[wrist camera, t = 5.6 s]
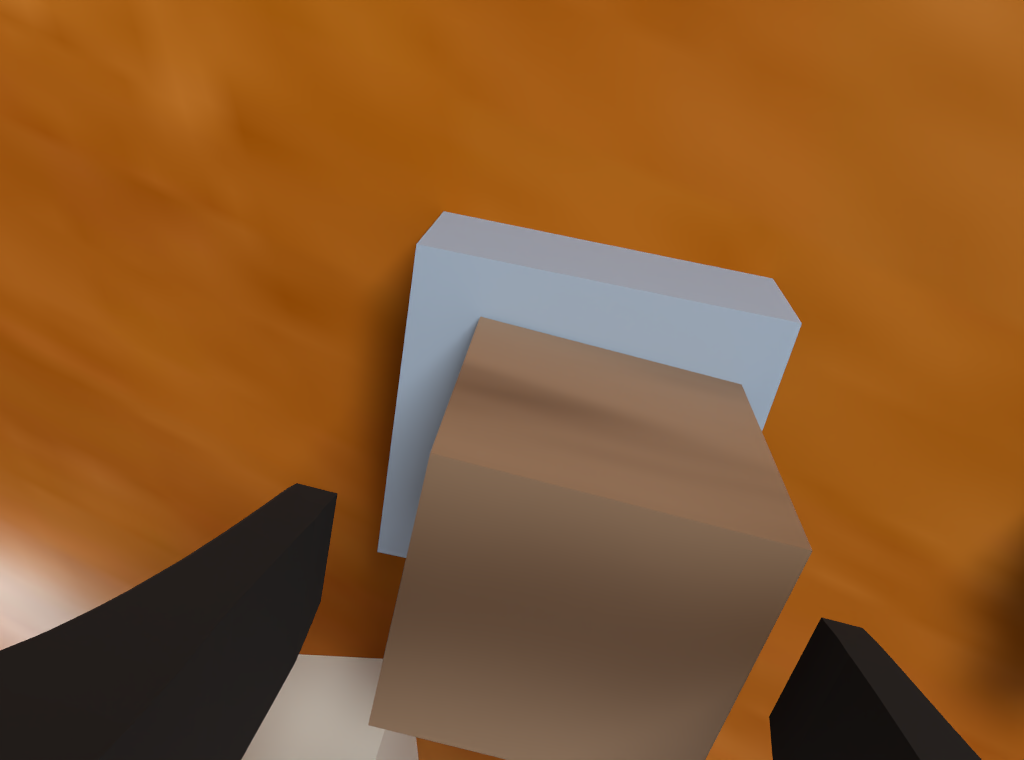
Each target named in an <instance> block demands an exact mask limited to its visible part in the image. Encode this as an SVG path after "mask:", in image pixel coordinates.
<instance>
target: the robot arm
mask: <svg viewBox="0 0 1024 760" xmlns="http://www.w3.org/2000/svg"><path fill="white" fill-rule="evenodd" d="M336 499H337V493H333V492H329V491H325V490H321V489H317V488H313V487H309V486H305V485H302V484H298V483H296V484H294V485H293V486H291V487H289V488H287V489H286V490H284V491H283V492H282V493H280V494H279V495H277V496H276V497H275V498H273V499H272V500H270V501H269V502H267V503H266V504H265V505H263V506H262V507H260V508H259V509H258V510H256V511H255V512H253V513H252V514H250V515H249V516H248V517H246V518H245V519H243V520H242V521H240V522H239V523H237V524H236V525H234V526H233V527H231V528H230V529H229V530H227V531H225V532H224V533H222V534H221V535H219V536H218V537H216V538H215V539H213V540H212V541H210V542H208V543H207V544H205V545H204V546H202V547H201V548H199V549H198V550H196V551H195V552H193V553H191V554H190V555H188V556H187V557H185V558H183V559H182V560H180V561H179V562H177V563H175V564H174V565H172V566H170V567H168V568H167V569H165V570H163V571H161V572H160V573H158V574H156V575H155V576H153V577H151V578H149V579H148V580H146V581H144V582H142V583H141V584H139V585H137V586H135V587H134V588H132V589H130V590H129V591H127V592H125V593H123V594H121V595H119V596H117V597H116V598H114V599H112V600H110V601H108V602H106V603H104V604H102V605H100V606H98V607H96V608H94V609H92V610H90V611H88V612H86V613H85V614H82V615H80V616H78V617H76V618H74V619H72V620H70V621H68V622H66V623H64V624H62V625H59V626H57V627H55V628H53V629H51V630H49V631H47V632H44V633H42V634H40V635H38V636H35V637H33V638H30V639H28V640H25V641H23V642H20V643H18V644H15V645H13V646H10V647H8V648H5V649H3V650H1V651H0V760H241V759H242V758H243V756H244V754H245V752H246V750H247V749H248V747H249V745H250V743H251V741H252V740H253V738H254V736H255V734H256V733H257V731H258V729H259V727H260V725H261V724H262V722H263V720H264V718H265V717H266V715H267V713H268V711H269V709H270V708H271V706H272V704H273V702H274V700H275V699H276V697H277V695H278V693H279V691H280V690H281V688H282V686H283V684H284V682H285V681H286V679H287V677H288V675H289V673H290V671H291V670H292V668H293V666H294V664H295V662H296V659H297V657H298V655H299V652H300V650H301V648H302V645H303V643H304V641H305V638H306V636H307V633H308V631H309V629H310V626H311V624H312V621H313V619H314V616H315V614H316V611H317V609H318V606H319V604H320V602H321V595H322V589H323V583H324V576H325V570H326V563H327V557H328V550H329V544H330V538H331V531H332V525H333V518H334V512H335V505H336ZM769 718H770V730H771V743H772V755H773V760H981V758H980V757H979V756H978V755H977V754H976V753H975V752H974V751H973V750H972V749H971V747H970V746H969V745H968V744H967V743H966V742H965V741H964V740H963V739H962V737H961V736H960V735H959V734H958V733H957V732H956V731H955V730H954V729H953V727H952V726H951V725H950V724H949V723H948V722H947V721H946V720H945V718H944V717H943V716H942V715H941V714H940V713H939V712H938V710H937V709H936V708H935V707H934V706H933V705H932V704H931V703H930V701H929V700H928V699H927V698H926V697H925V696H924V695H923V693H922V692H921V691H920V690H919V689H918V688H917V687H916V685H915V684H914V683H913V682H912V681H911V680H910V679H909V677H908V676H907V675H906V674H905V673H904V672H903V671H902V670H901V668H900V667H899V666H898V665H897V664H896V663H895V662H894V661H893V659H892V658H891V657H890V656H889V655H888V654H887V653H886V652H885V651H884V650H883V648H882V647H881V646H880V645H879V644H878V643H877V642H876V641H875V640H874V639H873V638H872V637H871V636H870V635H869V634H868V633H867V632H866V631H865V630H864V629H863V628H860V627H856V626H852V625H849V624H845V623H841V622H837V621H833V620H829V619H825V618H821V619H820V621H819V623H818V625H817V627H816V629H815V631H814V633H813V634H812V636H811V638H810V640H809V642H808V644H807V646H806V648H805V650H804V652H803V654H802V655H801V657H800V659H799V661H798V663H797V665H796V667H795V669H794V671H793V673H792V674H791V676H790V678H789V680H788V682H787V684H786V686H785V688H784V690H783V692H782V693H781V695H780V697H779V699H778V701H777V703H776V705H775V707H774V709H773V711H772V712H771V714H770V716H769Z"/></svg>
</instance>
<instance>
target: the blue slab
mask: <svg viewBox="0 0 1024 760" xmlns="http://www.w3.org/2000/svg"><path fill="white" fill-rule="evenodd" d="M480 317H484V318H488V319H492V320H496V321H500V322H503V323H507V324H511V325H515V326H519V327H523V328H527V329H530V330H534V331H538V332H542V333H546V334H550V335H553V336H557V337H561V338H565V339H569V340H573V341H577V342H580V343H584V344H588V345H592V346H596V347H600V348H603V349H607V350H611V351H615V352H619V353H623V354H627V355H630V356H634V357H638V358H642V359H646V360H650V361H653V362H657V363H661V364H665V365H669V366H673V367H676V368H680V369H684V370H688V371H692V372H696V373H700V374H703V375H707V376H711V377H715V378H719V379H723V380H726V381H730V382H734V383H738V384H742V387H743V389H744V391H745V394H746V396H747V398H748V401H749V403H750V405H751V408H752V410H753V412H754V415H755V417H756V419H757V422H758V424H759V427H760V429H761V431H762V430H763V427H764V424H765V422H766V419H767V416H768V414H769V411H770V408H771V405H772V403H773V400H774V397H775V395H776V392H777V389H778V386H779V384H780V381H781V378H782V376H783V373H784V370H785V368H786V365H787V362H788V359H789V357H790V354H791V351H792V349H793V346H794V343H795V340H796V338H797V335H798V332H799V330H800V327H801V324H802V323H801V321H800V320H799V318H798V317H797V315H796V314H795V312H794V311H793V309H792V308H791V306H790V304H789V303H788V301H787V300H786V298H785V297H784V295H783V294H782V292H781V291H780V289H779V288H778V286H777V284H776V283H775V281H774V280H773V279H772V278H767V277H762V276H757V275H752V274H747V273H743V272H738V271H733V270H728V269H723V268H718V267H713V266H708V265H703V264H699V263H694V262H689V261H684V260H679V259H674V258H669V257H664V256H659V255H655V254H650V253H645V252H640V251H635V250H630V249H625V248H620V247H615V246H611V245H606V244H601V243H596V242H591V241H586V240H581V239H576V238H571V237H567V236H562V235H557V234H552V233H547V232H542V231H537V230H532V229H527V228H523V227H518V226H513V225H508V224H503V223H498V222H493V221H488V220H484V219H479V218H474V217H469V216H464V215H459V214H454V213H449V212H443V213H442V214H441V215H440V217H439V218H438V219H437V220H436V221H435V223H434V224H433V225H432V226H431V227H430V229H429V230H428V231H427V232H426V233H425V235H424V236H423V237H422V238H421V239H420V241H419V242H418V243H417V245H416V252H415V260H414V268H413V276H412V284H411V292H410V300H409V307H408V315H407V323H406V331H405V339H404V347H403V355H402V362H401V370H400V378H399V386H398V394H397V402H396V410H395V418H394V425H393V433H392V441H391V449H390V457H389V465H388V473H387V480H386V488H385V496H384V504H383V512H382V520H381V528H380V535H379V543H378V551H377V552H381V553H385V554H390V555H395V556H399V557H404V558H406V557H407V552H408V548H409V543H410V539H411V535H412V530H413V526H414V521H415V517H416V513H417V508H418V504H419V499H420V495H421V491H422V486H423V482H424V478H425V473H426V469H427V464H428V460H429V456H430V452H431V449H432V446H433V444H434V441H435V438H436V436H437V433H438V430H439V427H440V425H441V422H442V419H443V416H444V414H445V411H446V408H447V406H448V403H449V400H450V397H451V395H452V392H453V389H454V387H455V384H456V381H457V378H458V376H459V373H460V370H461V367H462V365H463V362H464V359H465V357H466V354H467V351H468V348H469V346H470V343H471V340H472V337H473V335H474V332H475V329H476V327H477V324H478V321H479V318H480Z"/></svg>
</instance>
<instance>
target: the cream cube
mask: <svg viewBox="0 0 1024 760" xmlns="http://www.w3.org/2000/svg"><path fill="white" fill-rule="evenodd" d="M382 662H383V659H378V658H358V657H339V656H320V655H300V654H299V655H298V657H297V659H296V662H295V664H294V666H293V668H292V670H291V671H290V673H289V675H288V677H287V679H286V681H285V682H284V684H283V686H282V688H281V690H280V691H279V693H278V695H277V697H276V699H275V700H274V702H273V704H272V706H271V708H270V709H269V711H268V713H267V715H266V717H265V718H264V720H263V722H262V724H261V725H260V727H259V729H258V731H257V733H256V734H255V736H254V738H253V740H252V741H251V743H250V745H249V747H248V749H247V750H246V752H245V754H244V756H243V758H242V759H241V760H419V759H418V751H417V743H416V737H414V736H410V735H405V734H401V733H397V732H393V731H389V730H385V729H381V728H377V727H373V726H369V725H368V723H369V719H370V715H371V710H372V706H373V702H374V697H375V693H376V688H377V684H378V680H379V675H380V671H381V666H382Z"/></svg>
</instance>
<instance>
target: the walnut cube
mask: <svg viewBox="0 0 1024 760" xmlns="http://www.w3.org/2000/svg"><path fill="white" fill-rule="evenodd" d="M811 552H812V549H811V546H810V544H809V542H808V539H807V537H806V535H805V532H804V530H803V528H802V525H801V523H800V521H799V518H798V516H797V514H796V511H795V509H794V506H793V504H792V502H791V499H790V497H789V495H788V492H787V490H786V488H785V485H784V483H783V481H782V478H781V476H780V474H779V471H778V469H777V466H776V464H775V462H774V459H773V457H772V455H771V452H770V450H769V448H768V445H767V443H766V441H765V438H764V436H763V434H762V431H761V429H760V427H759V424H758V422H757V419H756V417H755V415H754V412H753V410H752V408H751V405H750V403H749V401H748V398H747V396H746V394H745V391H744V389H743V387H742V384H738V383H734V382H730V381H726V380H723V379H719V378H715V377H711V376H707V375H703V374H700V373H696V372H692V371H688V370H684V369H680V368H676V367H673V366H669V365H665V364H661V363H657V362H653V361H650V360H646V359H642V358H638V357H634V356H630V355H627V354H623V353H619V352H615V351H611V350H607V349H603V348H600V347H596V346H592V345H588V344H584V343H580V342H577V341H573V340H569V339H565V338H561V337H557V336H553V335H550V334H546V333H542V332H538V331H534V330H530V329H527V328H523V327H519V326H515V325H511V324H507V323H503V322H500V321H496V320H492V319H488V318H484V317H480V318H479V321H478V324H477V327H476V329H475V332H474V335H473V337H472V340H471V343H470V346H469V348H468V351H467V354H466V357H465V359H464V362H463V365H462V367H461V370H460V373H459V376H458V378H457V381H456V384H455V387H454V389H453V392H452V395H451V397H450V400H449V403H448V406H447V408H446V411H445V414H444V416H443V419H442V422H441V425H440V427H439V430H438V433H437V436H436V438H435V441H434V444H433V446H432V449H431V452H430V456H429V460H428V464H427V469H426V473H425V478H424V482H423V486H422V491H421V495H420V499H419V504H418V508H417V513H416V517H415V521H414V526H413V530H412V535H411V539H410V543H409V548H408V552H407V557H406V561H405V565H404V570H403V574H402V579H401V583H400V587H399V592H398V596H397V600H396V605H395V609H394V614H393V618H392V622H391V627H390V631H389V636H388V640H387V644H386V649H385V653H384V658H383V662H382V666H381V671H380V675H379V680H378V684H377V688H376V693H375V697H374V702H373V706H372V710H371V715H370V719H369V723H368V725H369V726H373V727H377V728H381V729H385V730H389V731H393V732H397V733H401V734H405V735H410V736H414V737H418V738H422V739H426V740H430V741H434V742H438V743H442V744H446V745H450V746H454V747H458V748H462V749H466V750H470V751H474V752H478V753H482V754H486V755H490V756H494V757H498V758H502V759H506V760H705V759H706V757H707V755H708V753H709V751H710V749H711V747H712V745H713V743H714V742H715V740H716V738H717V736H718V734H719V732H720V730H721V728H722V726H723V724H724V722H725V720H726V718H727V716H728V714H729V712H730V710H731V708H732V706H733V704H734V703H735V701H736V699H737V697H738V695H739V693H740V691H741V689H742V687H743V685H744V683H745V681H746V679H747V677H748V675H749V673H750V671H751V669H752V667H753V666H754V664H755V662H756V660H757V658H758V656H759V654H760V652H761V650H762V648H763V646H764V644H765V642H766V640H767V638H768V636H769V634H770V632H771V630H772V628H773V627H774V625H775V623H776V621H777V619H778V617H779V615H780V613H781V611H782V609H783V607H784V605H785V603H786V601H787V599H788V597H789V595H790V593H791V591H792V590H793V588H794V586H795V584H796V582H797V580H798V578H799V576H800V574H801V572H802V570H803V568H804V566H805V564H806V562H807V560H808V558H809V556H810V554H811Z"/></svg>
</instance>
